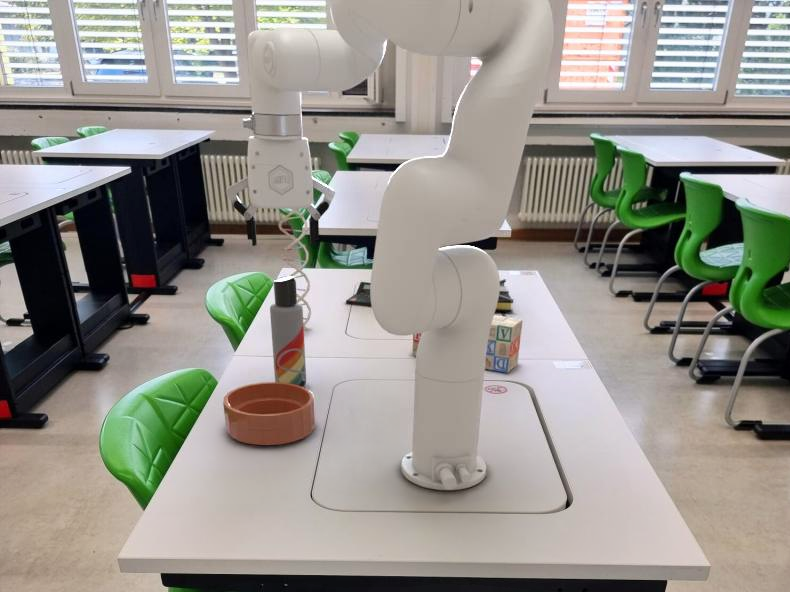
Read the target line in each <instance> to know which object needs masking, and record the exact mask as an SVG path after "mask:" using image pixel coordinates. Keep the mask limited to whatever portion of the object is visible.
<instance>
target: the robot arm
mask: <svg viewBox="0 0 790 592" xmlns="http://www.w3.org/2000/svg"><path fill="white" fill-rule="evenodd" d="M329 9H330V10H329V11H330V15H331V19H332V23H333V24H334V28H335V29H336V30H334V29H322V28H306V27H305V28H302V27H301V28H299V27H278V28H274V29H257V30H256V29H255V30H253V31H251V32H250V33H249V35H248V37H247V43H246V44H247V61H248V75H249V89H250V102H251V103H250V104H251V115H250V116H247V117H242V125H243V129H248V130H251V131H252V132H253V134H252V135H251V136H249V137H248V142H247V176H246V177H243V178H242V179H241V180H239V181H237V182H235V183H233V184H232V185H230V186H228V187H227V188H226V189H225V194H226V195H227V197H228V199H229V201H230V202H231V204H232V206H233V207H234V209H235V210H236V211H237V212H238V213H239V214H240V215H242V217H243V218H244V219H245V223H246V238H247V240H251V245H252V247H256V246H257V244H258V243H257V228H256V226H257V225H256V218H255V217H254V215H255V214H256V212H257V211H258V209H268V210H269V209H271V210H272V209H273V210H274V209H275V210H277V209H281V210H292V209H298V210H303V209H305V210H306V211H307V212H308V213H309V214H310V216H309V218H308V224H309V225H308V226H309V229H308V230H309V243H310V245H311V247H316V241H317V240H320V228H319V227H320V226H319V220H320V219H321V217H322V216H323V215H324V214H325V213H326V212H327V211H328V210H329V208H330V205H331V203H332V202H333V200H334V197H335V196H336V192H335V189H333V188H332V187H330V186H328V185H327V184H326V183H323V182H322V181H319V180H318V179H316V178H314V177H313V167H312V158H311V151H310V144H309V140H308V138H307V137H303V116H302V115H303V113H302V110H303V109H302V93H308V92H325V93H327V92H329V93H338V92H345V91H348V90H351V89H352V88H355V87H356V86H358V85H360V84H361V83H363V82H364V81H365V80H367V79H368V78H369V77H371V76H373V75H374V74H375V73H376V72H377V71H378V70H379V68H380V66H381V64H382V61H383V59H384V55H385V53H386V48H387V41H390V42H391V43H393V44H395V45H396V46H397V47H399V48H400V49H402V50H404V51H406V52H409V53H411V54H414V55H419V56H425V57H426V56H428V57H431V56H432V57H453V58H455V57H456V58H476V59H478V60H479V62H480V65H479V67H478V69H477V70H476V71H475V72H474V73H473V75H472V76H471V78H470V80H469V81H468V82H467V84H466V86H465V87H464V89H463V91H462V93H461V95H460V97H459V99H458V101H457V104H456V107H455V110H454V113H453V116H452V117H453V118H452V123H451V124H452V125H451V131H450V135H449V139H448V142H447V145H446V149H445V151H444V152H443V154H441V155H433V156H421V157H415V158H413V159H409V160H407V161H405V162H403V163H402V164H400V165H399V166H398V167H397V168H395V169H396V170H394V172H393V173H392V174H391V175H390V178H389V180H388V181H387V183H386V186H385V188H384V191H383V194H382V199H381V204H380V209H379V215H378V216H379V217H378V223H377V232H376V238H375V245H374V253H373V260H372V267H371V274H370V283H371V284H370V298H371V305H372V307H371V310H372V314H373V316H374V319H375V320H376V322H377V323H378V326H380V327H381V328H382V330H384V331H386V332H387V333H389V334H391V335H395V336H399V337H400V336H403V337H404V336H413V334H418V333H422V335H421V338H420V341H419V344H418V348H417V353H416V356H415V365H414V367H415V369H414V391H413V392H414V393H413V416H412V417H413V421H412V448H411V449H412V450H411V451H410V452H408V453H407V454H406V455H405V456H404V457H402V460H401V467H400V468H401V473H402V475H403V476H404V477H405V479H406V480H408V481H409V482H411V483H412V484H415V485H416V486H419V487H422V488H425V489H431V490H434V491H435V490H437V491H458V490H463V489H465V490H466V489H468V488H472V487H474V486H476V485H478V484H479V483H481V482H482V481H483V480H484V479H485V477H486V475H487V464H486V462H485V460H484V459H483V458H482V457H481V456H480V455H479V454H478V448H479V438H480V437H479V436H480V425H481V413H482V404H483V403H482V402H483V391H484V381H485V380H484V379H485V370H486V369H485V361H486V352H487V344H488V337H489V332H490V328H491V324H492V320H493V317H494V315H495V313H496V311H495V310H496V306H497V302H498V297H499V291H500V280H501V278H500V273H499V269H498V266H497V264H496V263H495V261H494V259H493V258H492V257H491V255H489V254H488V253H487V252H486V251H485V250H484V249H481V248H479V247H475V246H471V245H465V244H468V243H473V242H478V241H483V240H486V239H489V238H490V237H493V236H495V235H496V234H497V233H498V232H499V231H500V230H501V229H502V227H503V225H504V224H505V221H506V218H507V215H508V212H509V208H510V204H511V201H512V197H513V194H514V188H515V185H516V181H517V178H518V174H519V170H520V166H521V161H522V157H523V154H524V149H525V146H526V140H527V136H528V131H529V128H530V124H531V120H532V116H533V115H534V111H535V108H536V105H537V102H538V99H539V96H540V93H541V91H542V88H543V85H544V83H545V80H546V76H547V74H548V71H549V67H550V64H551V60H552V55H553V49H554V38H555V26H554V17H553V12H552V8H551V4H550V1H549V0H329ZM247 188H248V197H249V203H248V205H247V206H246V205H245V204H244V203H243V202H242V201H241V200H240V198H239V196H238V194H239V193H240V192H242V191H243V190H245V189H247ZM314 190H316V191H318V192H320V193H322V194H323V195H324V196H323V198H322V201H321V202H320V203H319V204H318V205H317V207H316V206H315V205H314V204H313V203H314ZM462 244H464V245H462Z"/></svg>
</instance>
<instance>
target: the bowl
mask: <svg viewBox="0 0 790 592" xmlns="http://www.w3.org/2000/svg"><path fill="white" fill-rule="evenodd" d="M222 403H223V404H222V405H223V411H224V422H225V431H226V432H227V434H228V436H230V437H231V438H233V439H235V440H236V441H238V442H242V443H245V444H249V445H258V446H274V445H275V446H277V445H284V444H289V443H293V442H296V441H299V440H301V439H305V438H306V437H307V436H308V435H310V434H312V432H313V431H314V429H315V428H316V423H315V422H316V420H315V417H316V416H315V398H314V394H313V392H311V390H309V389H308V388H307V387H306V388H304V387H301V386H299V385H295V384H290V383H281V382H275V381H267V382H257V383H250V384H249V383H248V384H244V385H241V386H239V387H236V388H234V389H232V390H229V391H228V392H227V393H226V394H225V395H224V396H223V402H222Z"/></svg>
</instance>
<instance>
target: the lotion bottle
mask: <svg viewBox="0 0 790 592" xmlns="http://www.w3.org/2000/svg"><path fill="white" fill-rule="evenodd" d="M293 277H294V276H293ZM293 277H289V276H282V277H279V278H276V279H274V280H273V294H274V302H275V303H272V304H271V305H270V306H269V315H270V329H271V343H272V357H273V370H274V382H281V383H290V384H295V385H299V386H301V387H304V388H306V389H307V367H306V346H305V344H306V343H305V328H304V319H303V318H304V308H303V305H300V304H301V303H299V302H298V303H297V300H298V297H297V294H298V293H297V280H296V278H295V277H294V278H293ZM296 293H297V294H296Z"/></svg>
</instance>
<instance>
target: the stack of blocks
mask: <svg viewBox="0 0 790 592" xmlns="http://www.w3.org/2000/svg"><path fill="white" fill-rule="evenodd" d="M522 329H523V319H522V318H514V317H509V316H503V315H496V314H494V317H493V320H492V324H491V328H490V332H489V337H488V344H487V352H486V361H485V370H490V371H495V372H499V373H505V374H508V373H509V372H510V371H511V370H512V369H514V368H516V366H518V363H519V353H520V347H521V346H520V345H521V335H522ZM421 335H422V333H418V334H413V335H412V356H414V357H416V353H417V348H418V344H419V341H420V338H421Z"/></svg>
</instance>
